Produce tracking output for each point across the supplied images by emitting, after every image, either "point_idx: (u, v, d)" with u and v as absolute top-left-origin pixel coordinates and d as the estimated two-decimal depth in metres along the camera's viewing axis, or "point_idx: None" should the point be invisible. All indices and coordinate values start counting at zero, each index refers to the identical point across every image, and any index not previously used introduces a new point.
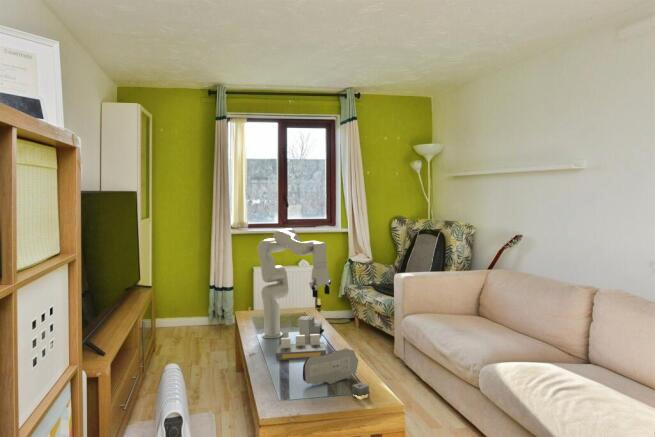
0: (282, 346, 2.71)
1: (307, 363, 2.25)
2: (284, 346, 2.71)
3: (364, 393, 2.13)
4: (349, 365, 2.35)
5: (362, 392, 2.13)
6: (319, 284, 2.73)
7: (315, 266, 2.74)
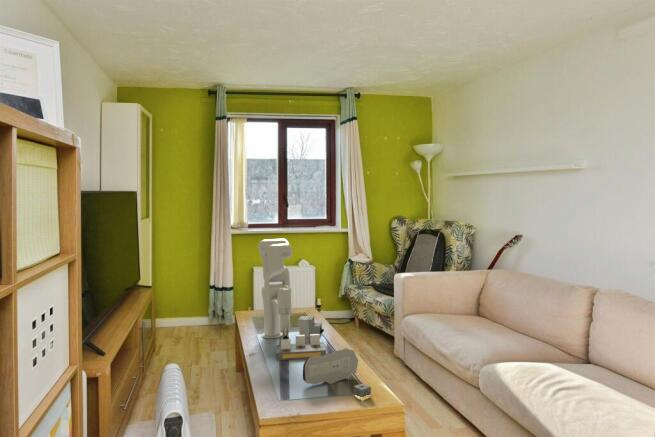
0: (282, 347, 2.69)
1: (307, 363, 2.25)
2: (284, 347, 2.69)
3: (366, 394, 2.12)
4: (349, 365, 2.35)
5: (364, 393, 2.12)
6: None
7: (284, 313, 2.69)
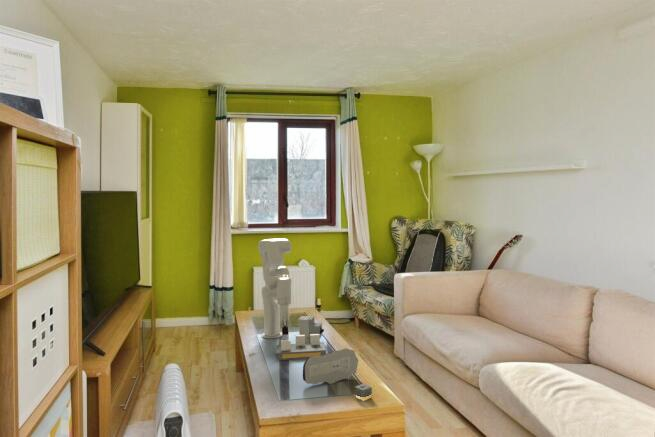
0: (282, 348, 2.67)
1: (307, 363, 2.25)
2: (284, 348, 2.67)
3: (367, 394, 2.12)
4: (349, 365, 2.35)
5: (365, 393, 2.11)
6: (288, 320, 2.67)
7: (284, 303, 2.66)
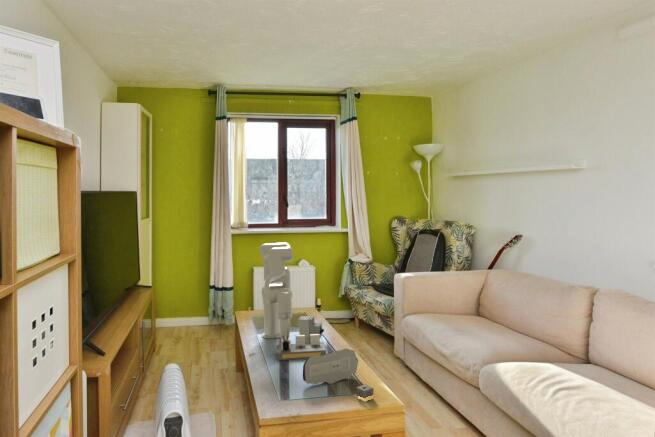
0: (282, 348, 2.68)
1: (307, 363, 2.25)
2: None
3: (369, 395, 2.11)
4: (349, 365, 2.35)
5: (367, 394, 2.10)
6: (289, 335, 2.62)
7: (284, 317, 2.61)
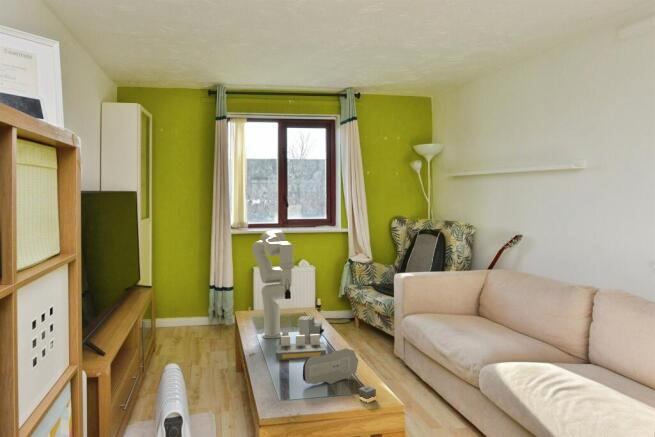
0: (282, 344, 2.75)
1: (307, 363, 2.25)
2: (284, 344, 2.75)
3: (371, 396, 2.10)
4: (349, 365, 2.35)
5: (369, 395, 2.09)
6: None
7: (286, 267, 2.75)
